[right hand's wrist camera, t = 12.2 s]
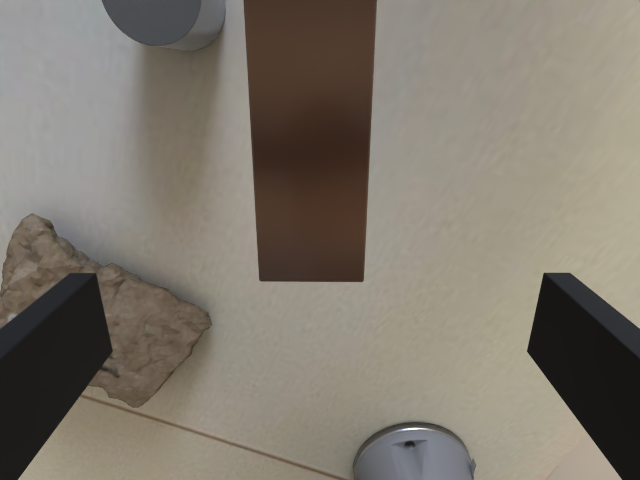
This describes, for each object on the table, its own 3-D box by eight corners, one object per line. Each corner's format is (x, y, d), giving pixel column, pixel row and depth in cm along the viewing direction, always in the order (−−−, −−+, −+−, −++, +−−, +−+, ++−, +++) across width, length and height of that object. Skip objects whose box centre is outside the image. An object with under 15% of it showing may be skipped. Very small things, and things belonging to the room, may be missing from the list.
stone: (-37, 322, 44) (-70, 353, 39) (36, 204, 43) (12, 218, 38) (151, 395, 52) (146, 429, 47) (217, 297, 51) (219, 320, 46)
